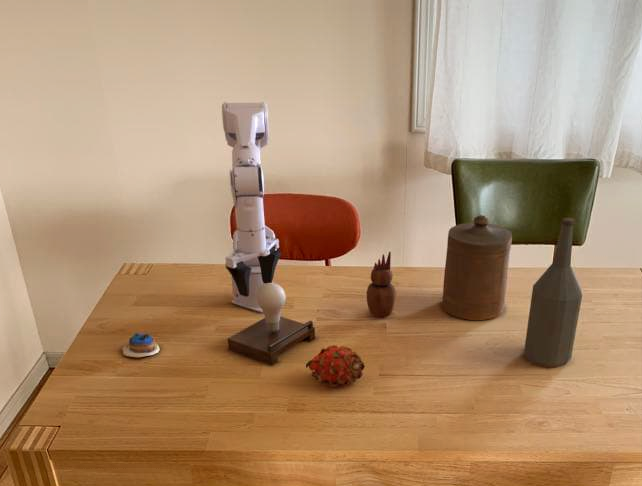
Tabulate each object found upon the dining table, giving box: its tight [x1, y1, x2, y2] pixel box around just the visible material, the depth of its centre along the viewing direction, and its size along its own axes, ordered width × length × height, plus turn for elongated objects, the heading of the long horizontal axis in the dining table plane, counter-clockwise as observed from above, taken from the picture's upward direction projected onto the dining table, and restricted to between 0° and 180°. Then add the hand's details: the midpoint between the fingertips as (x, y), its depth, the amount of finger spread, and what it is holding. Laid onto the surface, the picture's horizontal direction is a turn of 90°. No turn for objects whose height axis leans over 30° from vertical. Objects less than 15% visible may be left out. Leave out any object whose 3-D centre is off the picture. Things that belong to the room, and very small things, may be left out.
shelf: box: [227, 315, 316, 366], centre depth 172 cm, size 12×15×4 cm
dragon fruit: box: [305, 345, 365, 388], centre depth 159 cm, size 8×8×12 cm
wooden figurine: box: [366, 251, 397, 318], centre depth 182 cm, size 7×6×15 cm
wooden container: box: [441, 214, 513, 321], centre depth 184 cm, size 15×15×22 cm
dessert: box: [121, 332, 160, 358], centre depth 169 cm, size 8×7×6 cm
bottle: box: [524, 217, 583, 368], centre depth 162 cm, size 10×10×30 cm
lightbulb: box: [256, 282, 287, 332], centre depth 169 cm, size 6×6×11 cm
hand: (256, 289), depth 171 cm, fingers open, 7 cm apart
